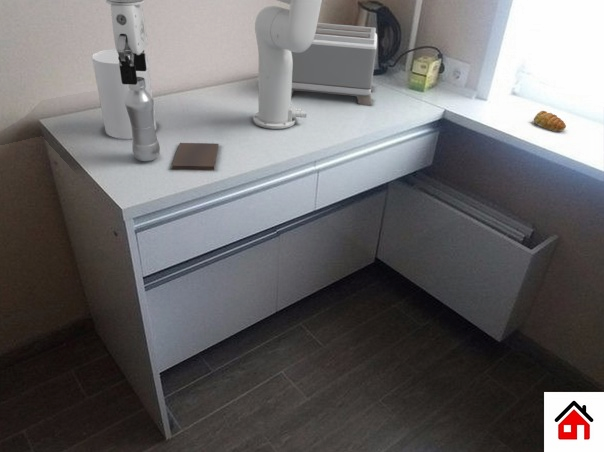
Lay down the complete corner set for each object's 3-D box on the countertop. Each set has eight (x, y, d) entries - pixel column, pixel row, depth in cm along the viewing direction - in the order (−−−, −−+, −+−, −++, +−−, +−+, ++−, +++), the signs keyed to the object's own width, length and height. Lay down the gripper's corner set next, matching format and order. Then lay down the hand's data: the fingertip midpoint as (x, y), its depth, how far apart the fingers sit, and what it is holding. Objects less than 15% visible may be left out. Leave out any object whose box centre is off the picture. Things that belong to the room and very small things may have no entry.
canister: (157, 136, 134) (148, 62, 123) (104, 140, 131) (90, 64, 119) (155, 117, 145) (146, 47, 134) (106, 120, 141) (93, 49, 130)
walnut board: (218, 146, 131) (218, 143, 130) (214, 170, 120) (213, 166, 120) (180, 146, 130) (180, 142, 130) (172, 169, 120) (172, 165, 119)
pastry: (569, 130, 153) (573, 118, 151) (555, 134, 150) (559, 122, 148) (543, 119, 160) (547, 108, 157) (529, 123, 157) (533, 111, 154)
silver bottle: (166, 157, 125) (157, 78, 113) (146, 167, 120) (134, 86, 109) (148, 150, 127) (138, 72, 116) (127, 159, 123) (114, 79, 111)
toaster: (279, 77, 181) (280, 18, 170) (372, 86, 178) (380, 27, 167) (268, 95, 165) (269, 31, 154) (371, 105, 162) (379, 41, 151)
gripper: (133, 3, 95) (143, 90, 105) (151, -11, 110) (158, 66, 119) (93, 1, 95) (107, 89, 104) (116, -13, 109) (126, 65, 119)
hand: (134, 77), depth 112 cm, fingers open, 9 cm apart
